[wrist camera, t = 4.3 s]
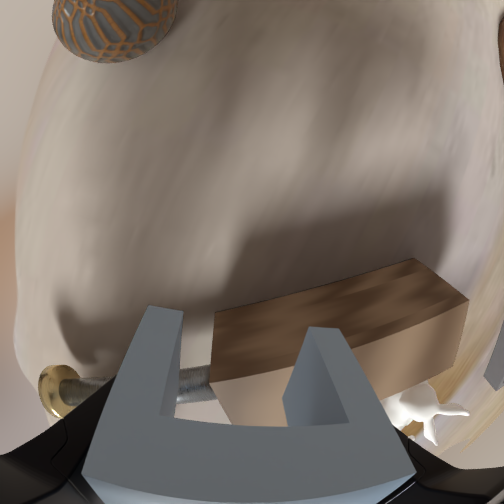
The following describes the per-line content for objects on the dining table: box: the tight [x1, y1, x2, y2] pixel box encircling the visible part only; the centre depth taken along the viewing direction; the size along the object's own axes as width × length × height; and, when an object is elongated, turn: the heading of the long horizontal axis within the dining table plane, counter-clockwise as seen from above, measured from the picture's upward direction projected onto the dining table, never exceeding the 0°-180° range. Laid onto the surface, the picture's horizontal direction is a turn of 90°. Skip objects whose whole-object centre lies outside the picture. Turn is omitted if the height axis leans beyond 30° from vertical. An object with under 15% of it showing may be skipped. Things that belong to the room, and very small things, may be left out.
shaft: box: [38, 364, 217, 419], centre depth 17 cm, size 20×5×5 cm, turn 104°
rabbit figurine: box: [380, 380, 470, 446], centre depth 20 cm, size 12×8×10 cm, turn 173°
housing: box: [209, 258, 469, 427], centre depth 18 cm, size 16×6×7 cm, turn 104°
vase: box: [52, 0, 178, 63], centre depth 8 cm, size 7×7×9 cm
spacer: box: [81, 305, 417, 504], centre depth 7 cm, size 4×7×6 cm, turn 79°
